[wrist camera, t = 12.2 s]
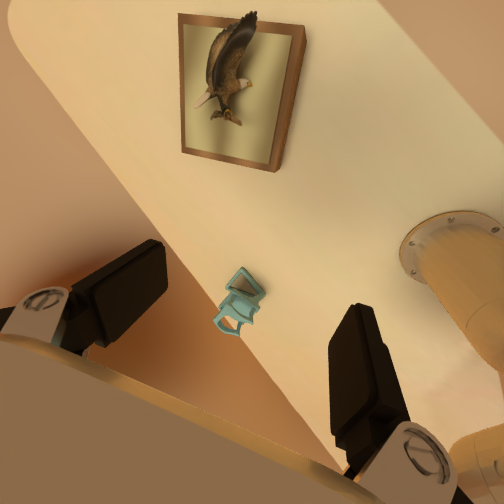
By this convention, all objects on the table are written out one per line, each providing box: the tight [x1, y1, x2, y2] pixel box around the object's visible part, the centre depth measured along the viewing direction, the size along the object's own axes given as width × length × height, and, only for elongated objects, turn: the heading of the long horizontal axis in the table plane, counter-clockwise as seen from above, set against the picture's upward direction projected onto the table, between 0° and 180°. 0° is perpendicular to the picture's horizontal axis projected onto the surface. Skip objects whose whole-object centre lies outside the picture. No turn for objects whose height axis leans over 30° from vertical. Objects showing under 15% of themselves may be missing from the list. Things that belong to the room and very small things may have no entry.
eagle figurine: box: [193, 11, 257, 126], centre depth 23 cm, size 8×7×9 cm
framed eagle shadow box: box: [178, 13, 307, 173], centre depth 29 cm, size 15×15×5 cm
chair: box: [213, 267, 266, 336], centre depth 43 cm, size 8×8×12 cm
